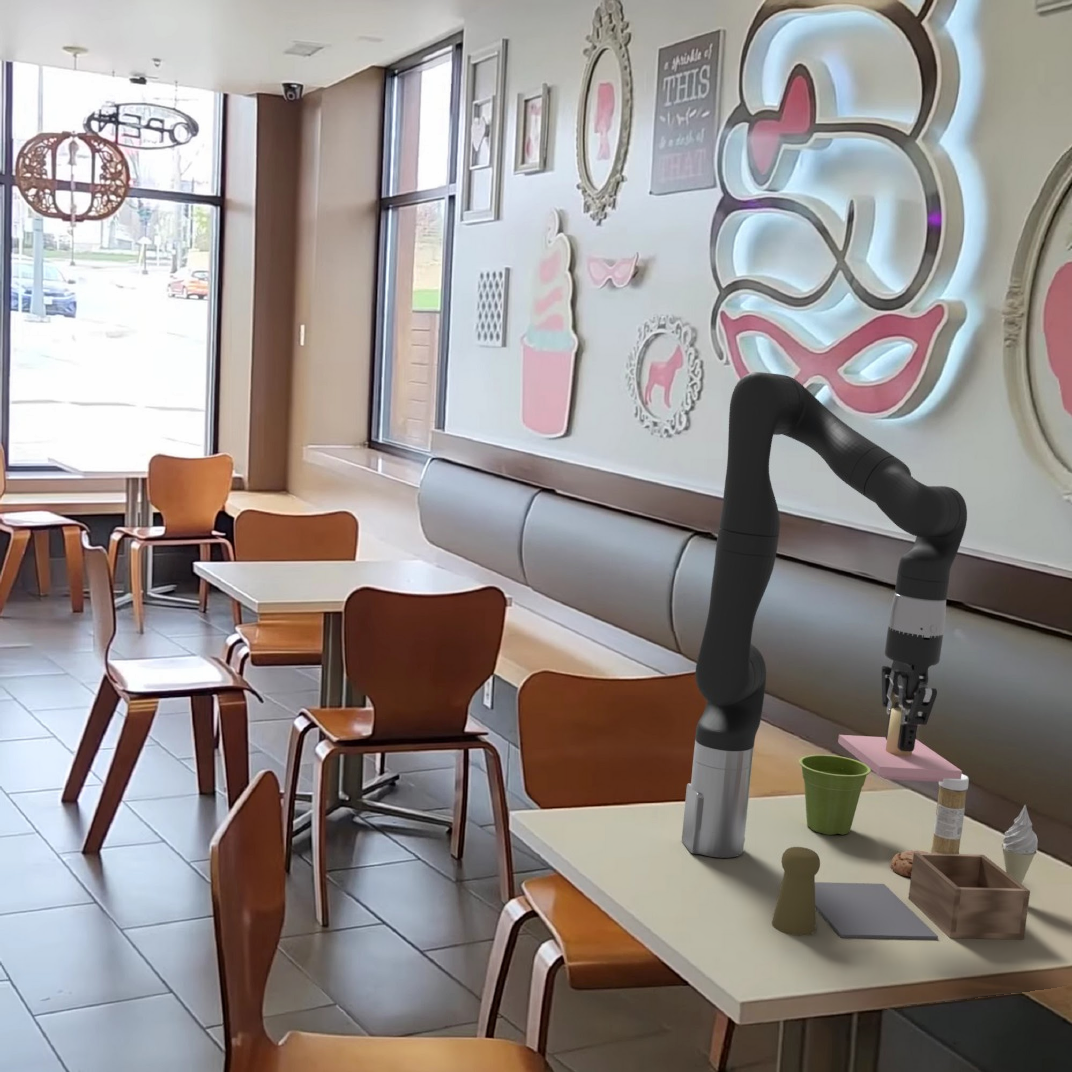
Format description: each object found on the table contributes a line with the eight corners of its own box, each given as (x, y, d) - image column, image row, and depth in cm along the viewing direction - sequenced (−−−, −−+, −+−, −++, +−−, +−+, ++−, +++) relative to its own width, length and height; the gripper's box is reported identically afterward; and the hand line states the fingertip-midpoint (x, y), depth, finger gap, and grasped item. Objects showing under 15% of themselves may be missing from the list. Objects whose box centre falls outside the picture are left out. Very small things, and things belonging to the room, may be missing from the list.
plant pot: (790, 813, 241) (797, 751, 240) (860, 822, 240) (867, 759, 238) (793, 836, 229) (800, 770, 228) (866, 844, 228) (874, 778, 227)
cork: (806, 939, 187) (815, 861, 186) (764, 926, 190) (773, 849, 189) (822, 925, 192) (830, 849, 191) (781, 913, 195) (789, 838, 194)
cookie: (877, 864, 220) (879, 846, 219) (931, 860, 224) (933, 842, 224) (917, 888, 211) (919, 869, 210) (972, 883, 215) (975, 864, 215)
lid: (877, 782, 189) (885, 724, 187) (837, 749, 203) (844, 694, 202) (959, 786, 191) (968, 728, 189) (913, 753, 205) (921, 699, 204)
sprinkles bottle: (941, 847, 229) (950, 769, 228) (965, 856, 226) (974, 777, 224) (924, 852, 226) (934, 772, 225) (948, 861, 223) (958, 780, 221)
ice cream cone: (1013, 908, 205) (1025, 810, 203) (987, 896, 209) (999, 799, 207) (1037, 905, 207) (1050, 808, 205) (1011, 892, 211) (1023, 797, 209)
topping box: (949, 937, 192) (955, 889, 191) (908, 898, 205) (913, 852, 204) (1023, 939, 193) (1030, 891, 192) (977, 899, 207) (983, 854, 206)
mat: (840, 937, 189) (841, 934, 189) (795, 884, 207) (795, 881, 207) (937, 939, 191) (937, 936, 191) (883, 886, 209) (884, 883, 209)
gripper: (870, 615, 200) (855, 730, 203) (912, 637, 187) (894, 760, 189) (919, 618, 202) (903, 733, 204) (963, 640, 188) (946, 762, 190)
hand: (899, 745), depth 196 cm, fingers closed on lid, 3 cm apart
